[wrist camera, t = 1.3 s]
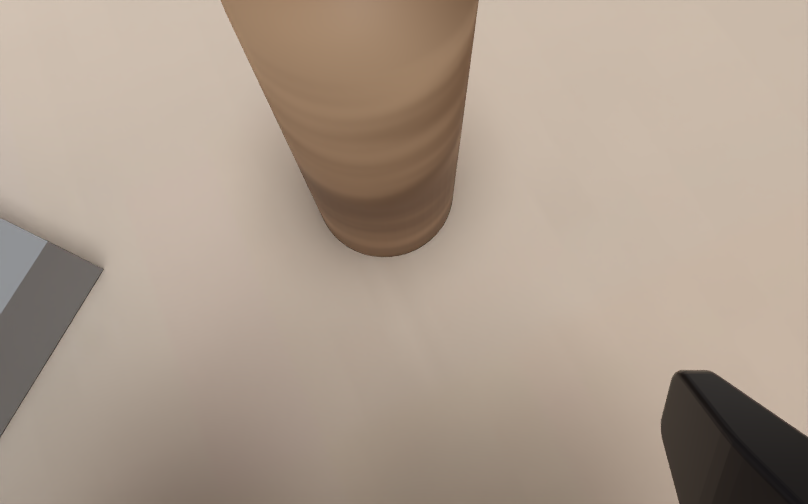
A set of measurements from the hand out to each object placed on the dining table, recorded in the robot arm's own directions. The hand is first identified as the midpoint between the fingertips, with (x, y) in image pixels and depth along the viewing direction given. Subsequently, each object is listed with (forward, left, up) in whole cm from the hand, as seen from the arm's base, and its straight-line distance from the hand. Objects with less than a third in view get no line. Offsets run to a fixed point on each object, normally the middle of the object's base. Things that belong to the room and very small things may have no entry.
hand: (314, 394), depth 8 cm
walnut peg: (+7, +3, -14) cm, 16 cm away
